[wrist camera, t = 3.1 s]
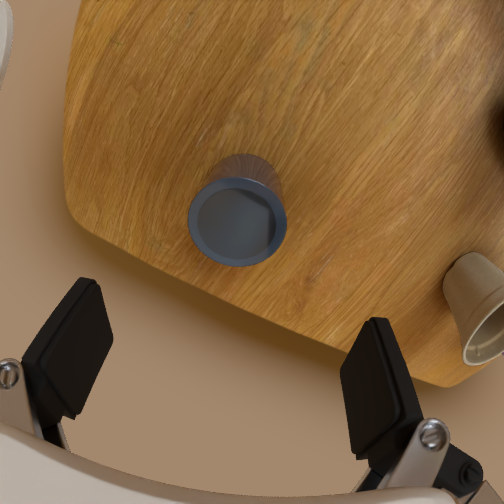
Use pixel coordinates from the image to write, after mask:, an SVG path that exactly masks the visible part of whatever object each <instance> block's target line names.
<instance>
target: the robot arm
mask: <svg viewBox="0 0 504 504" xmlns="http://www.w3.org/2000/svg"><path fill="white" fill-rule="evenodd" d="M112 343H113V333H112V330H111V327H110V323H109V319H108V316H107V312H106V308H105V305H104V301H103V296H102V292H101V288H100V286H99V285H98V284H97V282H96V281H95V280H94V279H89V278H84V277H80V278H79V279H78V280H77V281H76V282H75V284H74V285H73V286H72V287H71V289H70V290H69V291H68V293H67V294H66V295H65V296H64V298H63V299H62V300H61V302H60V303H59V304H58V306H57V307H56V308H55V310H54V311H53V312H52V314H51V315H50V317H49V318H48V319H47V321H46V322H45V324H44V325H43V327H42V328H41V329H40V331H39V332H38V334H37V335H36V337H35V338H34V340H33V341H32V343H31V344H30V346H29V347H28V349H27V351H26V352H25V354H24V355H23V357H22V361H21V363H20V362H19V361H17V360H16V359H12V358H8V359H3V360H1V361H0V504H504V502H503V501H502V499H501V498H500V497H499V496H498V494H497V493H496V492H495V490H494V489H493V488H492V487H491V486H490V484H489V483H488V481H487V480H484V481H482V480H483V469H482V466H481V465H480V463H479V462H478V461H477V460H475V459H474V458H472V457H471V456H469V455H467V454H466V453H464V452H462V451H461V450H460V449H458V448H457V447H455V446H454V445H452V444H451V443H450V433H449V430H448V428H447V426H446V425H445V424H444V423H443V422H442V421H440V420H439V419H436V418H427V419H424V418H423V414H422V411H421V408H420V405H419V401H418V398H417V395H416V392H415V389H414V386H413V383H412V380H411V377H410V374H409V371H408V368H407V366H406V363H405V360H404V358H403V356H402V353H401V351H400V348H399V345H398V343H397V340H396V338H395V335H394V332H393V330H392V327H391V325H390V322H389V320H388V319H387V318H381V317H371V318H370V319H369V321H365V323H364V324H363V326H362V328H361V330H360V332H359V334H358V336H357V338H356V340H355V342H354V344H353V346H352V348H351V350H350V352H349V353H348V355H347V357H346V359H345V361H344V363H343V364H342V366H341V369H340V379H341V384H342V390H343V396H344V402H345V409H346V415H347V422H348V429H349V436H350V443H351V451H352V453H353V454H356V460H363V459H368V464H369V468H368V469H367V471H366V472H365V473H364V475H363V477H362V478H361V479H360V481H359V482H358V483H357V485H356V486H355V487H354V489H353V490H352V491H351V493H347V494H336V495H323V496H306V497H263V496H246V495H234V494H224V493H216V492H208V491H201V490H196V489H190V488H185V487H179V486H175V485H170V484H165V483H161V482H157V481H153V480H149V479H145V478H142V477H138V476H135V475H131V474H128V473H125V472H121V471H119V470H116V469H113V468H110V467H107V466H104V465H101V464H98V463H96V462H93V461H90V460H88V459H86V458H83V457H81V456H78V455H76V454H74V453H71V451H70V449H69V446H68V443H67V440H66V437H65V434H64V432H63V428H62V425H61V422H60V421H61V419H62V416H66V417H68V418H70V419H73V420H75V417H76V415H79V414H80V413H81V411H82V409H83V407H84V405H85V402H86V400H87V397H88V395H89V393H90V391H91V389H92V386H93V384H94V382H95V379H96V377H97V375H98V373H99V371H100V369H101V367H102V365H103V362H104V360H105V358H106V356H107V354H108V352H109V350H110V348H111V346H112Z"/></svg>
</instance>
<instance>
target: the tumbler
mask: <svg viewBox="0 0 504 504" xmlns="http://www.w3.org/2000/svg"><path fill="white" fill-rule="evenodd" d="M188 228H189V232H190V235H191V237H192V240H193V242H194V243H195V245H196V246H197V247H198V248H199V250H200V251H201V252H202V253H203V254H205V255H206V256H207V257H209V258H210V259H212V260H214V261H216V262H218V263H220V264H224V265H227V266H234V267H244V266H251V265H254V264H257V263H260V262H262V261H264V260H266V259H267V258H269V257H270V256H271V255H272V254H274V253H275V252H276V250H277V249H278V248H279V247H280V245H281V244H282V242H283V240H284V237H285V234H286V229H287V218H286V212H285V206H284V200H283V194H282V188H281V183H280V179H279V176H278V174H277V172H276V171H275V169H274V168H273V167H272V166H271V165H270V164H269V163H268V162H267V161H265V160H264V159H262V158H260V157H258V156H255V155H250V154H236V155H232V156H229V157H226V158H224V159H223V160H221V161H220V162H218V163H217V164H216V165H215V166H214V168H213V169H212V170H211V172H210V174H209V175H208V177H207V178H206V180H205V181H204V183H203V185H202V186H201V188H200V189H199V191H198V193H197V194H196V196H195V198H194V199H193V201H192V203H191V205H190V208H189V212H188Z"/></svg>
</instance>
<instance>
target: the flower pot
mask: <svg viewBox="0 0 504 504" xmlns="http://www.w3.org/2000/svg"><path fill="white" fill-rule="evenodd" d="M443 293H444V296H445V298H446V300H447V302H448V305H449V307H450V309H451V312H452V314H453V317H454V319H455V322H456V325H457V327H458V330H459V333H460V336H461V345H462V348H463V349H462V359H463V361H464V363H465V364H467V365H470V366H476V365H481V364H483V363H486V362H488V361H490V360H492V359H494V358H495V357H497V356H498V355H500V354H501V353H502V352H504V272H503V271H502V270H500V269H499V268H498V267H497V266H495V265H494V264H493V263H492V262H490V261H489V260H488V259H487V258H485V257H484V256H483V255H482V254H480V253H477V252H471V253H468V254H466V255H463V256H462V257H460V258H459V259H458V260H456V262H455V264H454V266H453V267H452V268H451V269H450V270H449V271H448V272H447V273H446V275H445V278H444V281H443Z"/></svg>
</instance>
